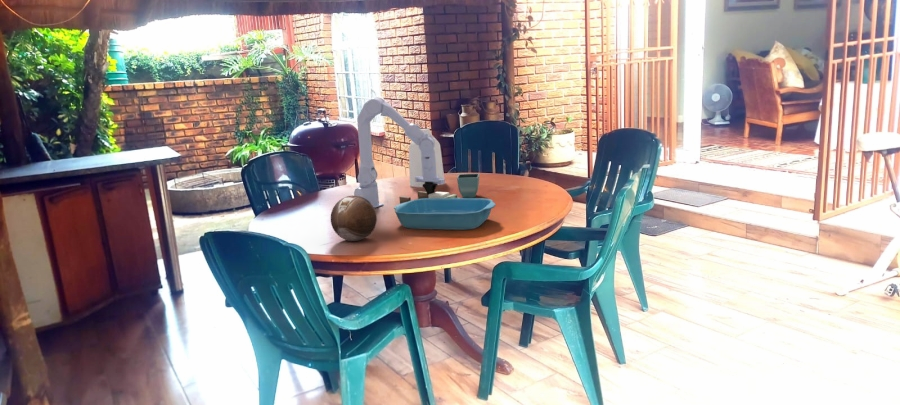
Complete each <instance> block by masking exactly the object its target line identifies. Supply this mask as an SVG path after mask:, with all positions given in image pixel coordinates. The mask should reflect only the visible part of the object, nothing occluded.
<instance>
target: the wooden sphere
mask: <svg viewBox="0 0 900 405" xmlns="http://www.w3.org/2000/svg"><path fill="white" fill-rule="evenodd" d="M377 218H378V217H377V212H376V209H375V208H374V207H373V205H372V204H371V203H370V202H369V201H368V200H367V199H365V198H363V197H360V196H354V195H348V196H345V197H343V198H341V199H340V200H338V201H337V202H336V203H335V205H334V206H333V207H332V210H331V214H330V224H331V225H330V226H331V227H332V229H333V231H334V233H335V234H336V235H337V236H338V237H339V238H342V240H346V241H348V242H358V241H362V240H365V239H366V238H368V237H369V236H370V235H371V234H372V233H373V231H374V230H375V228H376V225H377Z"/></svg>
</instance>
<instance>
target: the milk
mask: <svg viewBox="0 0 900 405" xmlns="http://www.w3.org/2000/svg"><path fill="white" fill-rule="evenodd" d="M420 129H421V130H422V131H423V132H424V133H426V134H428V136H431V137H432V138H433V139H434V141H435V147H434V151H435V159H436V174H437V176H438V178H441V179H445V174H444V165H443V157H442V156H443V155H442V150H441V144H440V142H439V140H437V138H435V136H434V135H433V134H432V132H431V130H430V128H420ZM408 161H409V162H408V164H409V165H408V167H409V170H408V171H409V187H412V188H415V187H416V188H424V187H423V184H424V183H425V182H416V180H415V177H418V176H420V177H422V163H421V150H420V149H419V145H416V144H415V143H414V142H413V141H412V140H411V142H410V144H409V146H408ZM439 185H440V184H438V185H437V186H439ZM440 186H441V185H440Z"/></svg>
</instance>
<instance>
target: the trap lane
mask: <svg viewBox="0 0 900 405" xmlns="http://www.w3.org/2000/svg"><path fill="white" fill-rule="evenodd" d="M416 193H417V199H424V198H428V195H427V192H426V191H421V190H420V191H417V192H416ZM398 198H399V204H401V203H405V202H409V201H411V196H405V195H401V196H399V197H398ZM443 198H461V196H460V197H459V196H458V194H455V193H453V194H449V196H446V197H443Z"/></svg>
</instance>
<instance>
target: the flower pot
mask: <svg viewBox="0 0 900 405" xmlns="http://www.w3.org/2000/svg"><path fill="white" fill-rule="evenodd" d="M456 179H457V188H458V192H459V194H460V197H461V198H476V196H477V193H478V192H479V191H478V190H479V186H480V173H461V174H460V173H459V174H458V175H457V177H456Z"/></svg>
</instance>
